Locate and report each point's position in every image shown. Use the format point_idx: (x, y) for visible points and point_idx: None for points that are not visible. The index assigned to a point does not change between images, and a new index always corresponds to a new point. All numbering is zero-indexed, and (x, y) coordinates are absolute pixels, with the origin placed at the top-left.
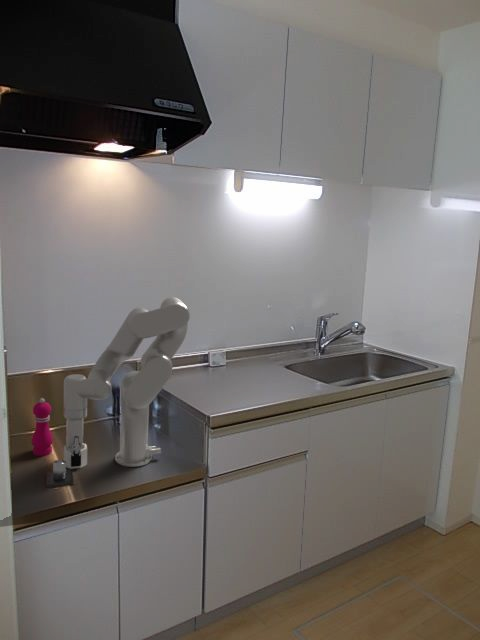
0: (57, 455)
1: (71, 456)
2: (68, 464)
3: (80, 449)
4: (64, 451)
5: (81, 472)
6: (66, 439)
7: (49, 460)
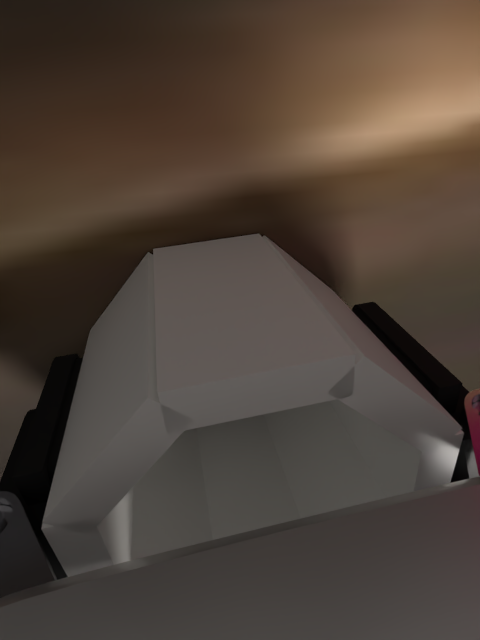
0: (466, 134)
1: (20, 469)
2: (109, 321)
3: (337, 472)
4: (145, 375)
5: (9, 430)
6: (410, 575)
7: (357, 19)
